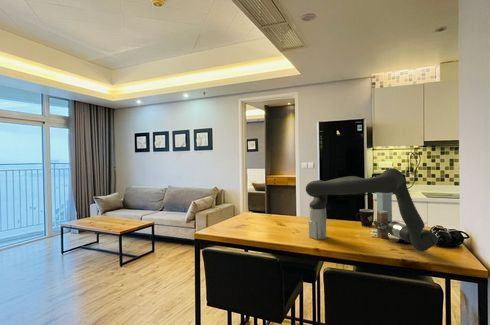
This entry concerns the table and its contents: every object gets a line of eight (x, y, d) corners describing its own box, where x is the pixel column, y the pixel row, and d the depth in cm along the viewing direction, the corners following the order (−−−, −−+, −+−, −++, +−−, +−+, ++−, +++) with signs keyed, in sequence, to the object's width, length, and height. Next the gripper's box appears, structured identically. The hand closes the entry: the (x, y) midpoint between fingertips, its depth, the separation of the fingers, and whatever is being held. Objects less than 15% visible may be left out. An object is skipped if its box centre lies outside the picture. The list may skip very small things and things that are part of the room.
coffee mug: (372, 223, 180) (372, 209, 179) (375, 227, 171) (375, 212, 171) (354, 223, 182) (353, 208, 182) (356, 226, 174) (355, 211, 174)
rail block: (388, 238, 150) (387, 211, 150) (381, 238, 150) (381, 212, 150) (383, 235, 154) (383, 210, 154) (377, 236, 154) (376, 210, 153)
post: (393, 230, 164) (392, 192, 163) (382, 231, 163) (382, 192, 162) (386, 227, 171) (385, 190, 170) (376, 228, 170) (375, 191, 169)
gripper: (412, 222, 138) (391, 214, 155) (386, 224, 137) (367, 216, 154) (412, 236, 139) (391, 227, 155) (386, 238, 137) (368, 229, 154)
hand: (379, 222), depth 154 cm, fingers open, 5 cm apart
